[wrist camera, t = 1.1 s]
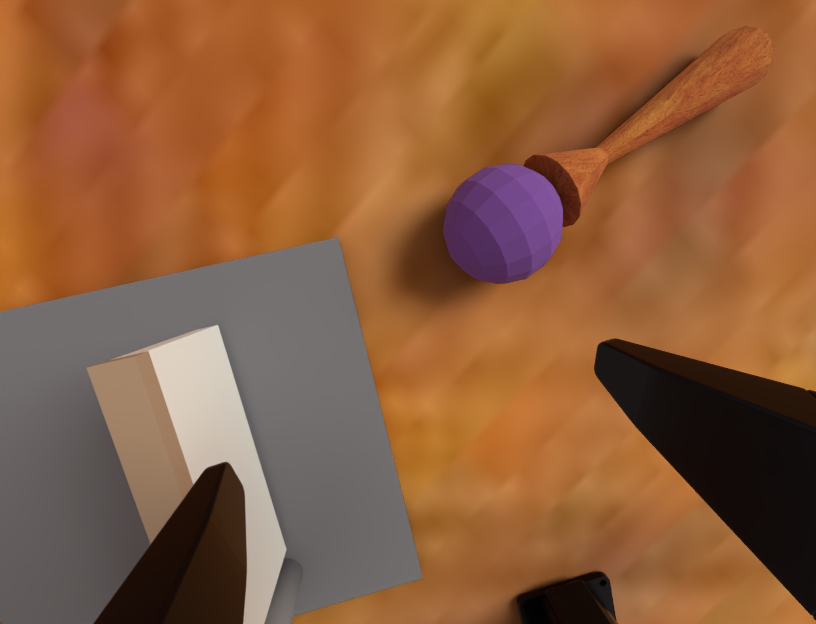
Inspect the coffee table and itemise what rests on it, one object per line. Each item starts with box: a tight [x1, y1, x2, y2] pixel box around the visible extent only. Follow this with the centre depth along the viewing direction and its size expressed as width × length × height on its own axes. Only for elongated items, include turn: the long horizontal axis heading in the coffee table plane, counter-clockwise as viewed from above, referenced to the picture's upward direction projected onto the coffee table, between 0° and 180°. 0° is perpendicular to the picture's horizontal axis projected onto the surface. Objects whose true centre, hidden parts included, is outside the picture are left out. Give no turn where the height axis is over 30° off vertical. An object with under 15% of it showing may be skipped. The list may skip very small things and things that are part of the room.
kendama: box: [443, 26, 774, 284], centre depth 20 cm, size 6×6×20 cm
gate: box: [87, 325, 287, 624], centre depth 17 cm, size 14×2×7 cm, turn 13°
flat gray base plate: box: [0, 237, 422, 624], centre depth 18 cm, size 22×24×8 cm
